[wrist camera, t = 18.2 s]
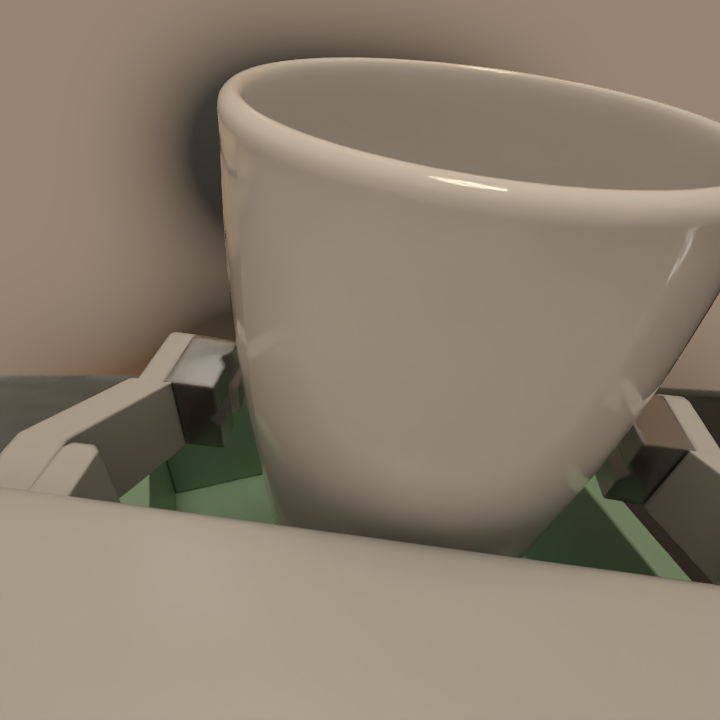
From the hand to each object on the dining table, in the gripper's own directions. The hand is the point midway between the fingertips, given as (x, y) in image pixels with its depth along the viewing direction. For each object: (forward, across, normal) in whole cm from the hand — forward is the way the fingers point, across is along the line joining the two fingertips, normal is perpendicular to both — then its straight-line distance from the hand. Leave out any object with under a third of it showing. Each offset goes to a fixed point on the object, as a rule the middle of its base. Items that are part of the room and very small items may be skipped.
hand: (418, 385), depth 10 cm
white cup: (-1, 0, +9) cm, 9 cm away
